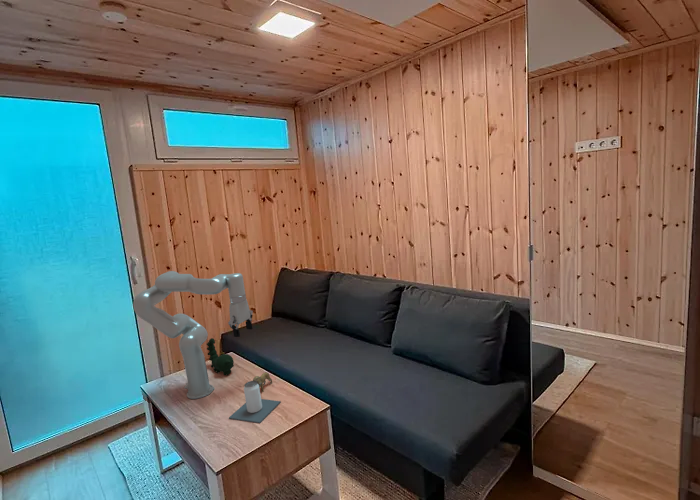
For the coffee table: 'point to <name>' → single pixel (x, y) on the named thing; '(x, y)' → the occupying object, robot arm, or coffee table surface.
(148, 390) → the coffee table surface
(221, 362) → the toy figurine
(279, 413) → the coffee table surface
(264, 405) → the mat
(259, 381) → the lion figurine
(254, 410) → the can
